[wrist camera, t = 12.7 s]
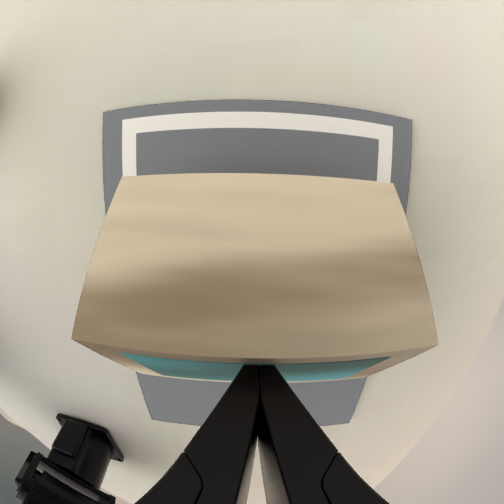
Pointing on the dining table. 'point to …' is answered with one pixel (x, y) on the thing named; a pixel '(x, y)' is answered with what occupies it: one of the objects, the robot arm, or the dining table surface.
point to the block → (255, 278)
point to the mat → (253, 161)
